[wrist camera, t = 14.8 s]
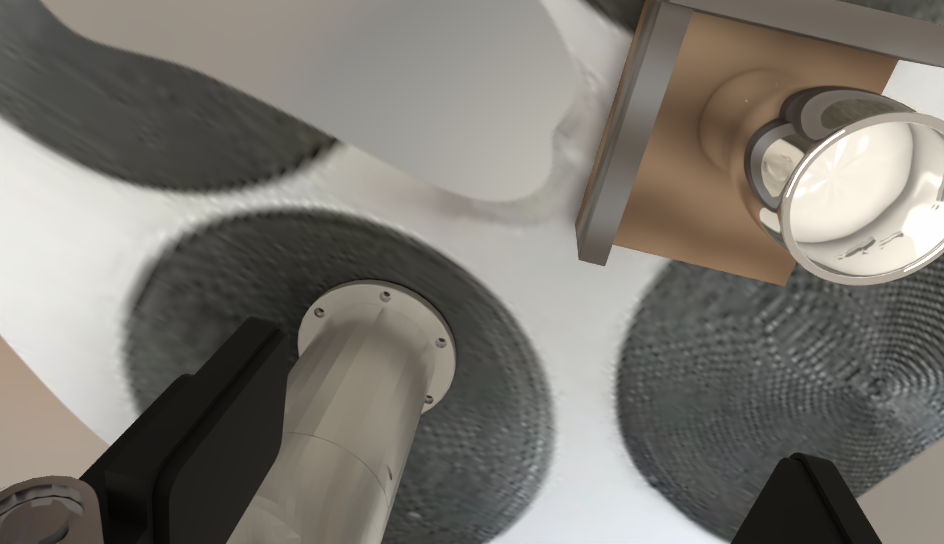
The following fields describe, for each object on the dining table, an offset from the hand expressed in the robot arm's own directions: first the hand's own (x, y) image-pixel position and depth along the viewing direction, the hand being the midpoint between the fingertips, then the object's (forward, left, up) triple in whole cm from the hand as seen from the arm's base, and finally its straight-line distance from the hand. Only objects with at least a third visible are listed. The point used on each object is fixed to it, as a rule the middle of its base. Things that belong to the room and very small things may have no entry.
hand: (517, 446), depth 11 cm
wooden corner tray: (+2, -11, -30) cm, 32 cm away
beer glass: (+3, -12, -28) cm, 31 cm away
